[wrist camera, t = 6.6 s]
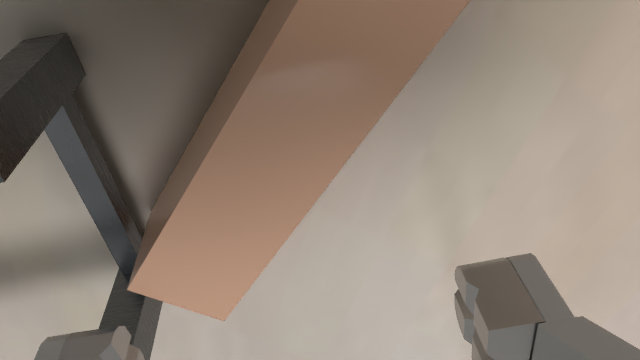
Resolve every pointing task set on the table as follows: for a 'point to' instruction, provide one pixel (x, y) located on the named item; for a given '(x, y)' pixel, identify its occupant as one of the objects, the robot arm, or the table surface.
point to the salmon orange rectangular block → (278, 140)
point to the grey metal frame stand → (73, 164)
